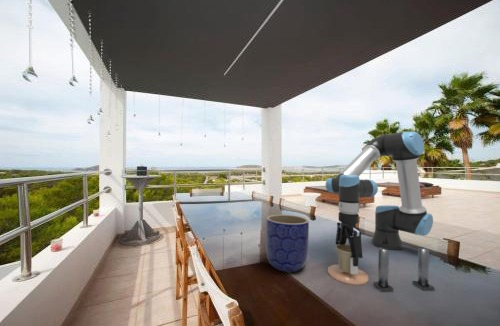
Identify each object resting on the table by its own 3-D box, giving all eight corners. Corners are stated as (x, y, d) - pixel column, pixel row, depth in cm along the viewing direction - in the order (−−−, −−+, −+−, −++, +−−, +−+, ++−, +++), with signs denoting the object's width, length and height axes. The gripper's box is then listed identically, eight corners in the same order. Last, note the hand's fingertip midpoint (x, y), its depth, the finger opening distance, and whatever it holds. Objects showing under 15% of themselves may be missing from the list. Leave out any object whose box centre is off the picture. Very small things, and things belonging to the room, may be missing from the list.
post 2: (423, 283, 83) (423, 246, 83) (434, 290, 79) (434, 251, 79) (412, 284, 83) (413, 246, 83) (423, 290, 78) (423, 251, 79)
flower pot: (330, 264, 92) (331, 243, 93) (352, 264, 93) (352, 243, 94) (342, 275, 83) (342, 252, 83) (365, 274, 84) (365, 252, 84)
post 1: (384, 284, 81) (384, 247, 82) (393, 291, 77) (393, 251, 77) (373, 285, 81) (374, 247, 81) (381, 291, 77) (382, 251, 77)
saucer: (353, 266, 96) (353, 264, 96) (377, 284, 81) (377, 281, 81) (321, 267, 95) (321, 264, 95) (339, 285, 80) (339, 282, 80)
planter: (281, 280, 82) (282, 225, 83) (257, 261, 99) (258, 215, 99) (317, 271, 91) (318, 221, 91) (289, 255, 107) (290, 213, 108)
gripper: (327, 207, 99) (326, 257, 98) (354, 218, 78) (353, 282, 77) (343, 207, 100) (342, 257, 99) (374, 218, 79) (373, 281, 78)
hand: (347, 268), depth 88 cm, fingers closed on flower pot, 8 cm apart
